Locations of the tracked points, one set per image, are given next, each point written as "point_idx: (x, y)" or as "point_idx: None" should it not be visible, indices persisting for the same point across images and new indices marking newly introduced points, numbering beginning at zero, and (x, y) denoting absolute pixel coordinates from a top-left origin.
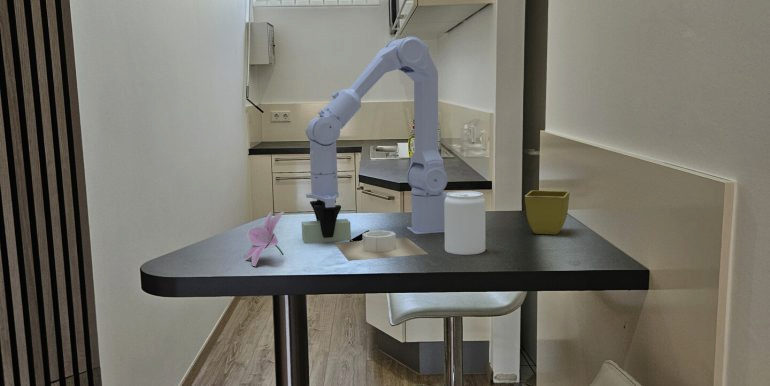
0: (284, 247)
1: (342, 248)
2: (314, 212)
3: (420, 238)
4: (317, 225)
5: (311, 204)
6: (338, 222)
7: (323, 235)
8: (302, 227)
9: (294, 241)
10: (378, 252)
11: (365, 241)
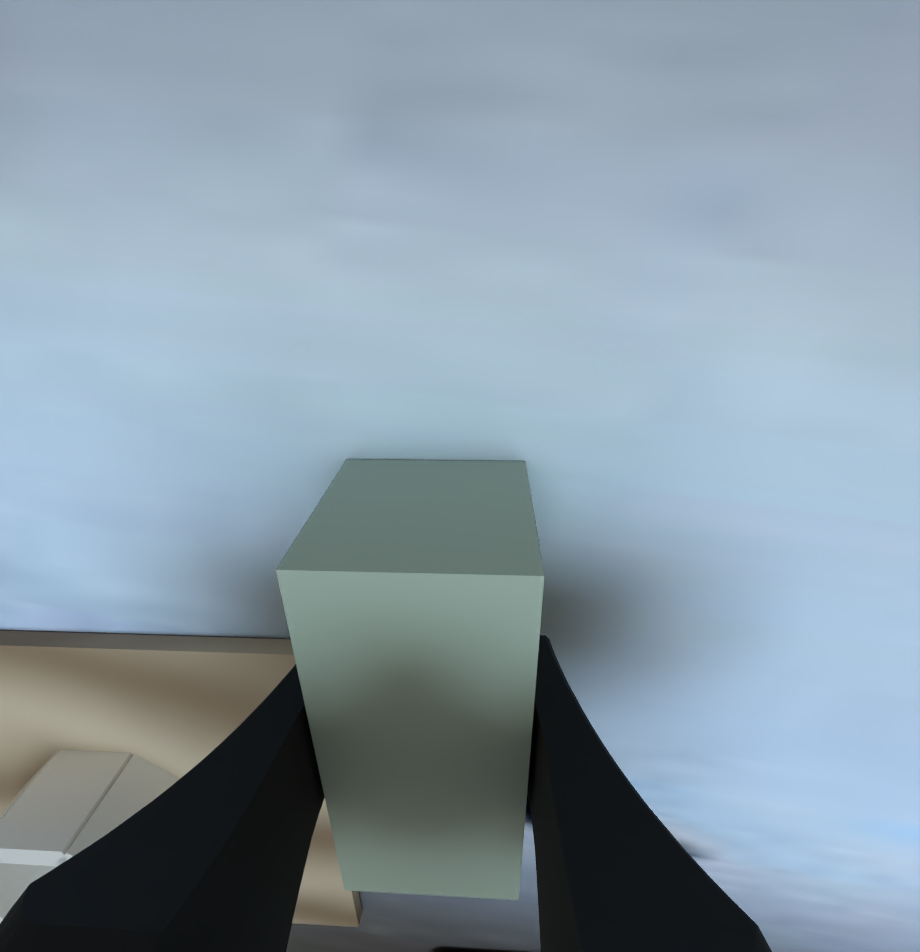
0: (338, 268)
1: (124, 667)
2: (636, 801)
3: (386, 946)
4: (307, 682)
5: (582, 941)
6: (361, 835)
7: None
8: (471, 538)
9: (575, 396)
10: (22, 786)
11: (11, 809)
